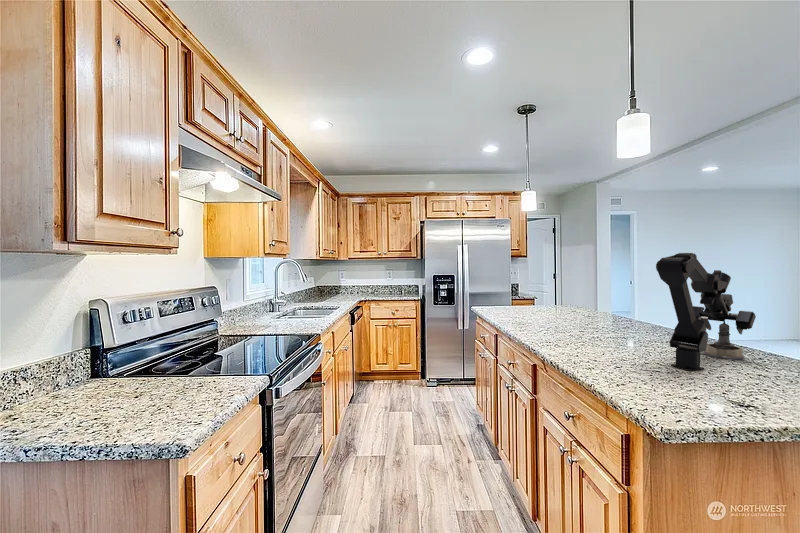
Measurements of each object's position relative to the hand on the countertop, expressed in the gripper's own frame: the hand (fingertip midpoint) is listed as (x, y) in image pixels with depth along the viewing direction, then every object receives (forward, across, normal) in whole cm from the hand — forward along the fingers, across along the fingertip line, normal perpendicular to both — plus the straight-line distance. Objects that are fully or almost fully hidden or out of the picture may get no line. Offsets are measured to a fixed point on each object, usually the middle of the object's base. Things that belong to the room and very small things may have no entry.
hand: (725, 331), depth 144 cm
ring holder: (+5, 0, +7) cm, 9 cm away
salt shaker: (+5, 0, +7) cm, 8 cm away
